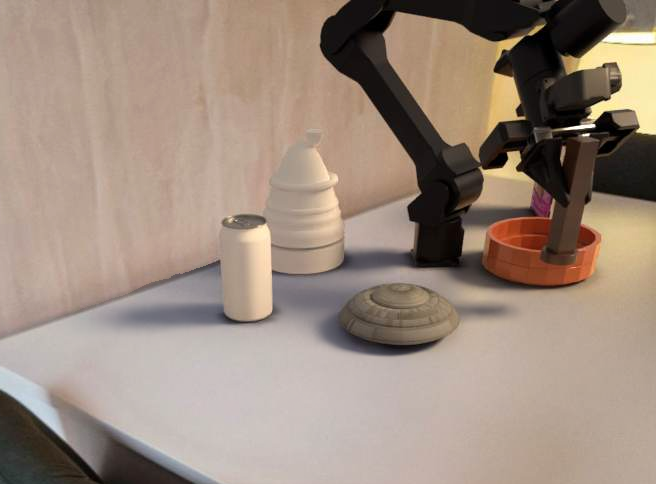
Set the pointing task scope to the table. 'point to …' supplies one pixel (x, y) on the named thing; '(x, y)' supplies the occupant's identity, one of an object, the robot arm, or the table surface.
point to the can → (246, 267)
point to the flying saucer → (399, 315)
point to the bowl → (535, 252)
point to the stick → (569, 218)
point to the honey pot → (304, 212)
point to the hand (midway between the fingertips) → (577, 204)
